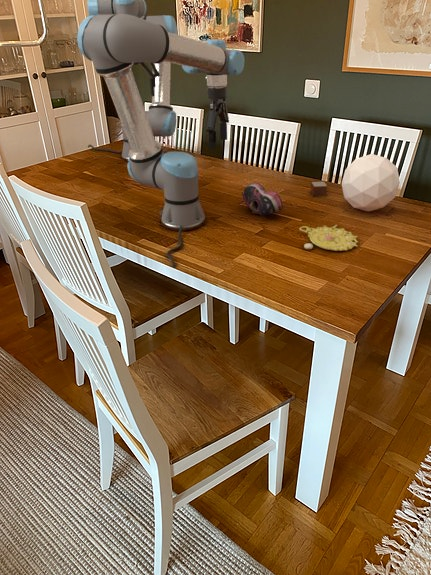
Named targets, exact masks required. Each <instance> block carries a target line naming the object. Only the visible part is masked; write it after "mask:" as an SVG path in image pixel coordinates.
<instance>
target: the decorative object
mask: <svg viewBox="0 0 431 575" xmlns="http://www.w3.org/2000/svg"><path fill="white" fill-rule="evenodd" d="M303 228H304V229H305V230H304V229H303ZM299 231H300V232H303V233H305V234H307V237H308V238H309V240H310V241H311V243H304V244H303V248H304V249H305V250H313V249H314V245H315V246H316V247H318V248H321V249H324V250H328V251H335V252H341V251H348V250H352V249H354V247H356V248H358V247H359V245H358V244H357V243H359V240H357V238H359V237H358V235H353V234H352V231H347V230H346V229H345V228H344V227H342V228H338V224H335V225H333V226H331V227H328V226H327V225H326V224H325V225H323V226H322V227H321V226H317V227H316V228H314V227H309V226H308V225H302V226H300V227H299ZM313 244H314V245H313Z"/></svg>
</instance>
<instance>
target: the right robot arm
mask: <svg viewBox="0 0 431 575" xmlns="http://www.w3.org/2000/svg"><path fill="white" fill-rule="evenodd" d="M76 36H77V38H76V39H77V45H78V49H79V51H80V53H81V54H82V56H83V57H84V58H86V59H87V60H89V61H90V62H92V64H93V68H94V69H95V72H96V74H97V75H99V76H101V77H103V78H104V81H105V83H106V87H107V90H108V92H109V94H110V97H111V100H112V103H113V105H114V107H115V111H116V113H117V116H118V118H119V121H120V125H121V124H122V126H123V129H124V132H125V134H126V137H127V140H128V142H129V145H130V147H131V149H130V151H129V158H128V161H127V164H126V166H127V171H128V174H129V176H130V177H131V179H132V180H133V181H134V182H136V183H138V184H140V185H142V186H145V187H150V188H154V189H158V190H160V191H163V194H164V204H163V209H162V210H159V216H161V219H160V220H161V225H162V227H163V228H165V229H167V230H170V231H175V232H176V231H177V232H178V236H177V242H178V243H179V245H178V246H175V247H173V248H171V249H169V250H168V251H167V252H166V257H167V258H168V259H169V260H170V262H171V265H172V268H173V269H175V268H176V264H175V259H174V258H173V257H172V256H171V255H170V253H172V252H174V251H177V250H179V249H181V248H182V247H183V242H182V240H181V238H182V232H185V231H186V232H187V231H192V230H195V229H198V228H201V227H202V226H203V225H204V224H205V223H206V215H205V212H204V210H203V208H202V204H201V202H200V196H199V168H198V162H197V160H196V158H195V156H193V155H192V154H190V153H188V152H184V151H176V150H175V151H173V150H172V151H168V152H164V149H163V146H162V143H161V142H160V141H157V140H156V139H155V137H154V136H153V133H152V130H151V127H150V124H149V121H148V118H147V115H146V112H145V111H146V109H145V106H144V102H143V100H142V96H141V94H140V91H139V88H138V85H137V82H136V79H135V75H134V73H133V69H132V67H133V65H134V64H133V63H135V62H144V63H148V62H150V63H155V64H159V63H161V62H163V61H164V62H169V63H171V64H174V65H179V66H181V67H182V70H183V71H184V73H186V74H188V75H196V74H199V73H200V74H206V76H205V80H206V86H207V88H206V95H207V96H206V97H207V99H209V100H211V102H209V103H208V111H207V120H206V129H205V131H206V133H208V149H209V150H217V131H216V129H217V122H218V119H219V121H220V123H219V136H220V137H219V138H220V140H221V141H227V140H228V124H229V123H230V120H229V119H230V117H229V111H228V106H227V97H228V87H227V85H228V76H231V77H232V76H239V75H240V74H241V73H242V72H243V70H244V67H245V56H244V53H243V52H242V51H241V50H239V49H234V48H232V49H228V48H227V42H226V40H224V39H221V38H215V39H213V38H212V39H207V40H206V41H205V42H203V41H200V40H197V39H194V38H190V37H187V36H183V35H180V34H178V35H177V34H173V33H170V32H168V31H167V30H166V28H165V27H163V26H161V25H158V24H155V23H152V22H149V21H146V20H144V19H141V18H138V17H135V16H132V15H127V14H108V15H103V14H97V15H92V16H89V15H88V16H87V17H85V18H83V20H82V21H81V22H80V24H79V27H78V31H77V34H76ZM122 126H121V127H122Z"/></svg>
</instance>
